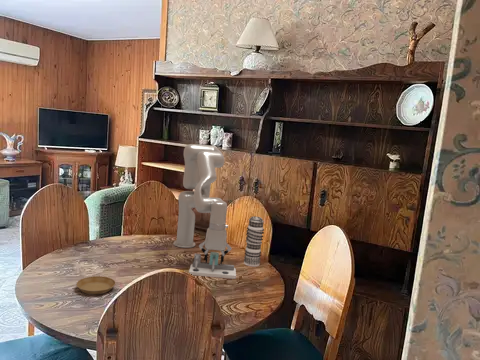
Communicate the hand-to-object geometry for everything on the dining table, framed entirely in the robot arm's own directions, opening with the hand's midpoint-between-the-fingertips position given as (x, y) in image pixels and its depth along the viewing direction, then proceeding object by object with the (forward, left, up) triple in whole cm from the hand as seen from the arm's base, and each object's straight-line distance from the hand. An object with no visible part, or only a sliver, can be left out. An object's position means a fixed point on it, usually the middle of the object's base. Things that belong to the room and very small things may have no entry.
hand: (213, 262), depth 187 cm
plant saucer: (+30, -46, -5) cm, 55 cm away
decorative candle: (-16, +20, -5) cm, 26 cm away
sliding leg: (+2, 0, -2) cm, 3 cm away
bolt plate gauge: (+2, 0, -4) cm, 5 cm away
